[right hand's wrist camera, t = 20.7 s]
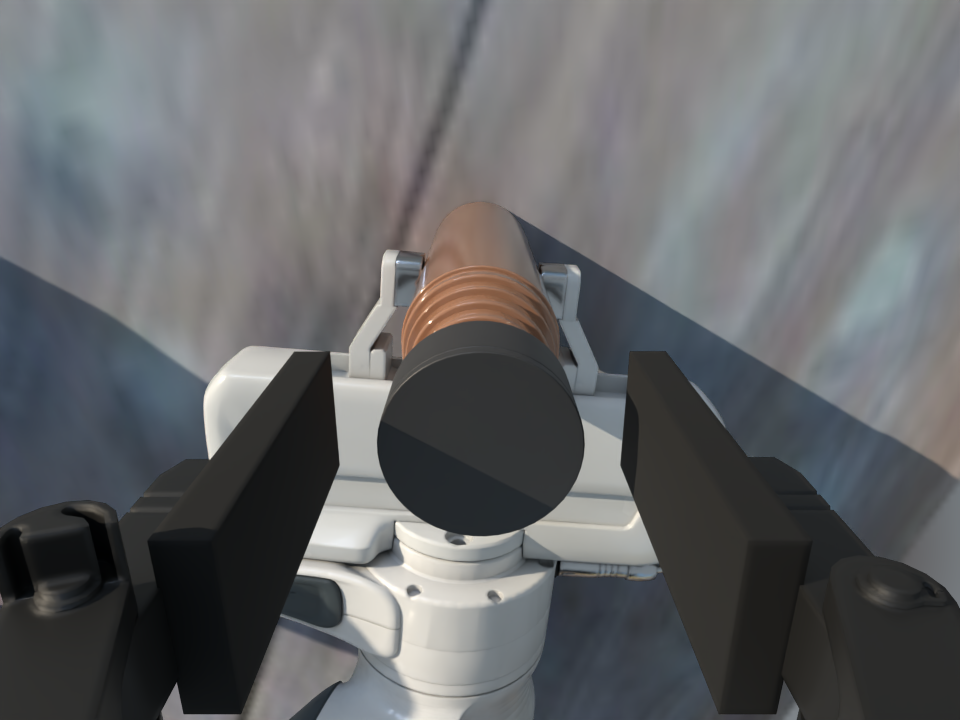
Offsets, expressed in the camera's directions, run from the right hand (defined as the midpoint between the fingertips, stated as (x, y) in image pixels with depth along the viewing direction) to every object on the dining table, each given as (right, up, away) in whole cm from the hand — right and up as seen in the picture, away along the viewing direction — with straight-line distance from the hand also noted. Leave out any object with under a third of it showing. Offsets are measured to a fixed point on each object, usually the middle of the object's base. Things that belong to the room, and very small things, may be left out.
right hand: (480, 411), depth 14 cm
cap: (0, 0, -1) cm, 1 cm away
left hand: (0, +5, +10) cm, 11 cm away
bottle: (0, +6, +17) cm, 18 cm away
